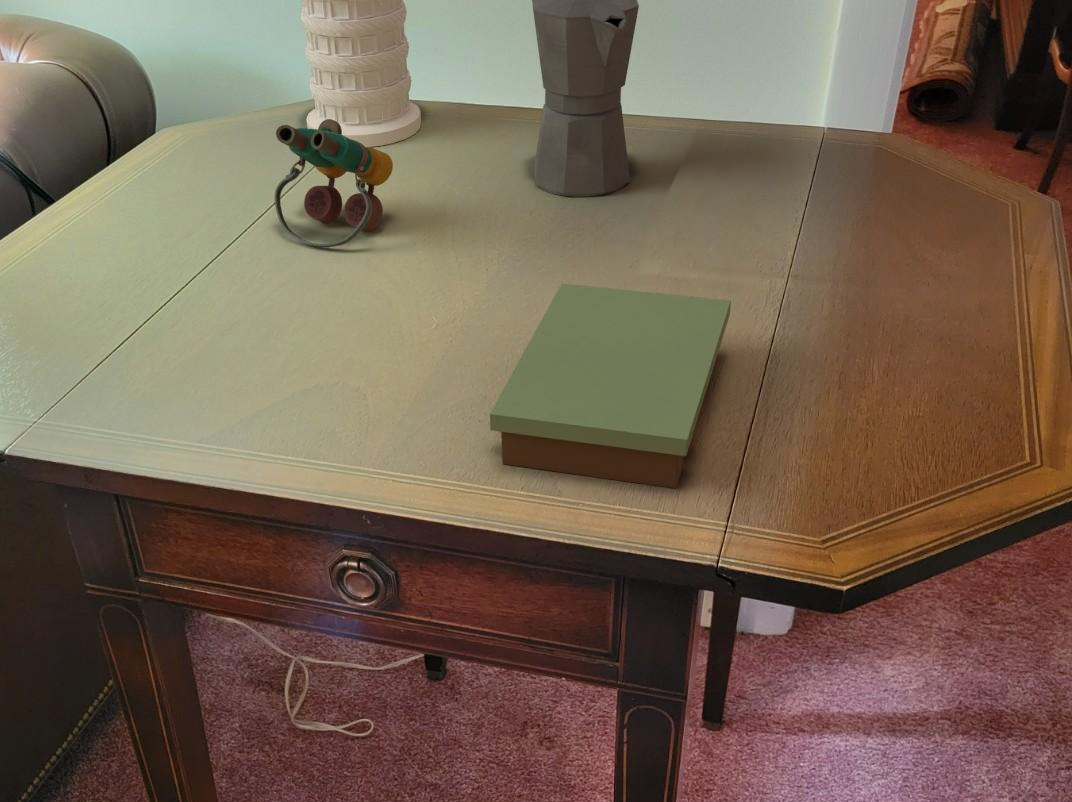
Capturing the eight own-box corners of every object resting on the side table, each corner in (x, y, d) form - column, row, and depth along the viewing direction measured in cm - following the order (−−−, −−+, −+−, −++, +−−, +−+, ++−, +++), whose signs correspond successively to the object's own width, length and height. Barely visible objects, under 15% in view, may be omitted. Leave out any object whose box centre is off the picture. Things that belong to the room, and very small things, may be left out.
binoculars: (385, 264, 104) (411, 144, 102) (328, 243, 96) (355, 113, 94) (296, 245, 108) (319, 129, 106) (233, 224, 99) (257, 98, 98)
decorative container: (296, 118, 127) (271, -76, 115) (402, 101, 129) (388, -89, 118) (323, 155, 118) (299, -50, 107) (436, 136, 121) (424, -65, 109)
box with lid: (725, 352, 86) (731, 300, 84) (682, 495, 73) (687, 439, 71) (560, 333, 89) (561, 283, 86) (491, 468, 76) (489, 413, 73)
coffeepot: (661, 194, 108) (675, -28, 96) (565, 213, 105) (567, -12, 94) (585, 139, 119) (589, -66, 107) (496, 155, 117) (491, -53, 105)
